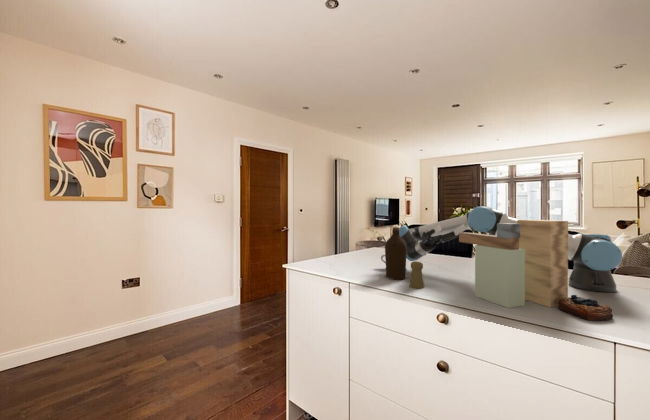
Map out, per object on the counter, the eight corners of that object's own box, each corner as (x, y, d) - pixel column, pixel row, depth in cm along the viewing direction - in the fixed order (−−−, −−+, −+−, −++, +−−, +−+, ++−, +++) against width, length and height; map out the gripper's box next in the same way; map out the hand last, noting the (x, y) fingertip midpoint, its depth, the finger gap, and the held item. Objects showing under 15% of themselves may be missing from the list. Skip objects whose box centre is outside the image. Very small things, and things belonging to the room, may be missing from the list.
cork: (424, 289, 120) (425, 263, 120) (410, 288, 122) (410, 262, 121) (423, 285, 126) (423, 260, 126) (408, 284, 128) (409, 260, 127)
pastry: (580, 307, 99) (580, 291, 99) (620, 321, 87) (620, 302, 87) (552, 309, 97) (552, 292, 97) (590, 323, 85) (590, 304, 85)
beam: (467, 241, 123) (467, 220, 123) (520, 249, 100) (520, 223, 100) (458, 241, 121) (458, 221, 121) (509, 249, 99) (509, 224, 98)
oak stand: (533, 294, 112) (534, 219, 112) (567, 304, 101) (568, 220, 101) (517, 296, 110) (517, 219, 109) (549, 307, 98) (550, 221, 98)
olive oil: (410, 279, 136) (410, 228, 135) (389, 280, 134) (389, 228, 134) (401, 274, 146) (401, 226, 146) (381, 275, 144) (381, 226, 144)
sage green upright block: (490, 293, 113) (491, 244, 113) (524, 305, 100) (525, 249, 100) (475, 295, 111) (475, 245, 111) (507, 307, 98) (508, 250, 98)
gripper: (448, 251, 148) (477, 234, 130) (407, 253, 140) (432, 235, 122) (443, 237, 151) (470, 219, 134) (402, 239, 143) (426, 220, 126)
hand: (452, 227), depth 128 cm, fingers open, 13 cm apart
